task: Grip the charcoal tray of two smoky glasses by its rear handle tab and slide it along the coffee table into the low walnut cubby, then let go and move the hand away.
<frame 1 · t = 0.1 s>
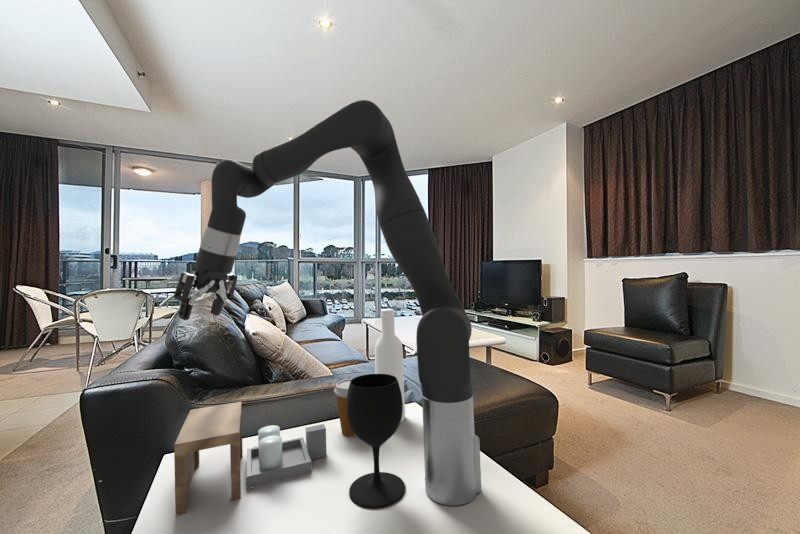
hand: (200, 316, 80), 31 cm above the table, tool tilted 20°, fingers open, 8 cm apart
tray: (278, 466, 73), on the table
bottle: (391, 420, 95), on the table
counter: (213, 480, 68), on the table
wine glass: (377, 491, 63), on the table
disposable coffee cup: (354, 431, 88), on the table
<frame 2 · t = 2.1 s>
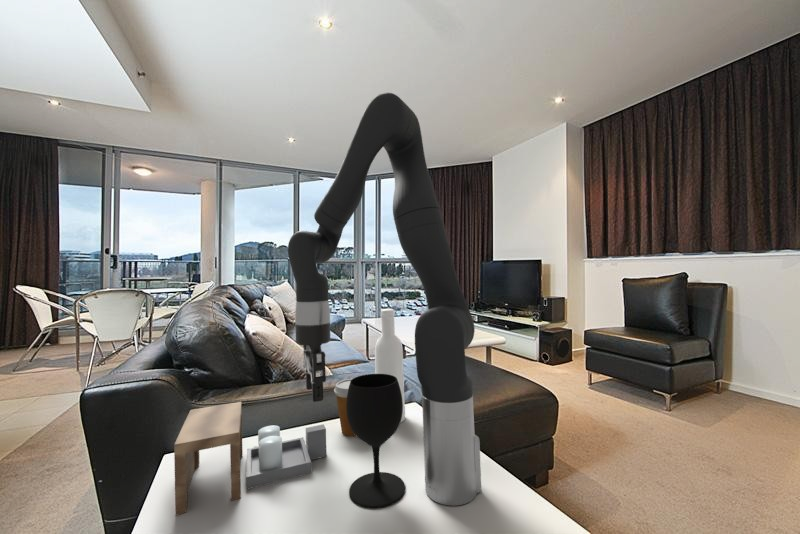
hand: (314, 394, 77), 13 cm above the table, tool pointing down, fingers open, 8 cm apart
nothing on the table moved.
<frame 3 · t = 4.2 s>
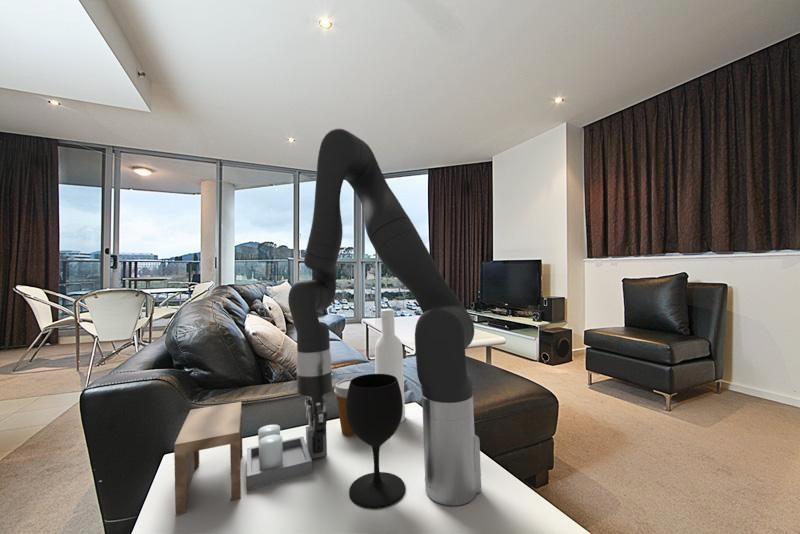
hand: (316, 448, 76), 2 cm above the table, tool pointing down, fingers closed on tray, 2 cm apart
tray: (278, 466, 73), on the table, touching gripper
everything else where it was.
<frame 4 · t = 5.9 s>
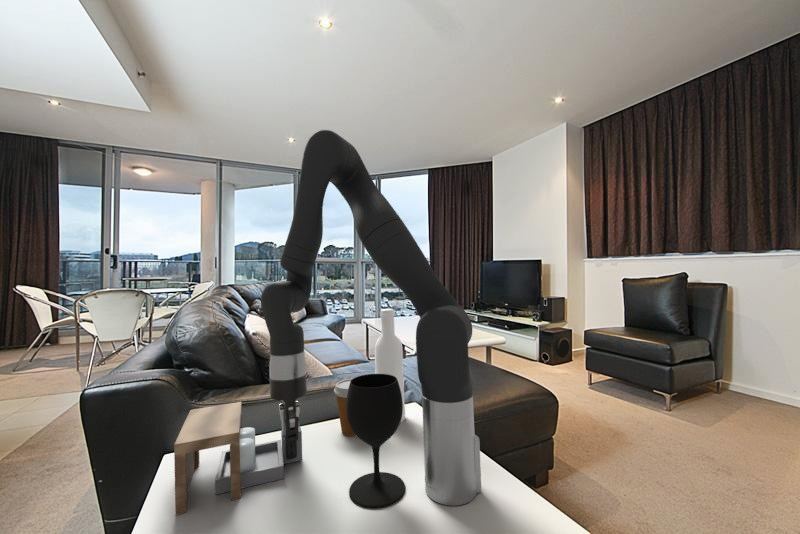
hand: (290, 454, 74), 2 cm above the table, tool pointing down, fingers closed on tray, 2 cm apart
tray: (251, 470, 71), on the table, touching gripper
everything else where it was.
when the fingers open (2 cm above the table, at t = 7.6 s): tray stays where it is, on the table.
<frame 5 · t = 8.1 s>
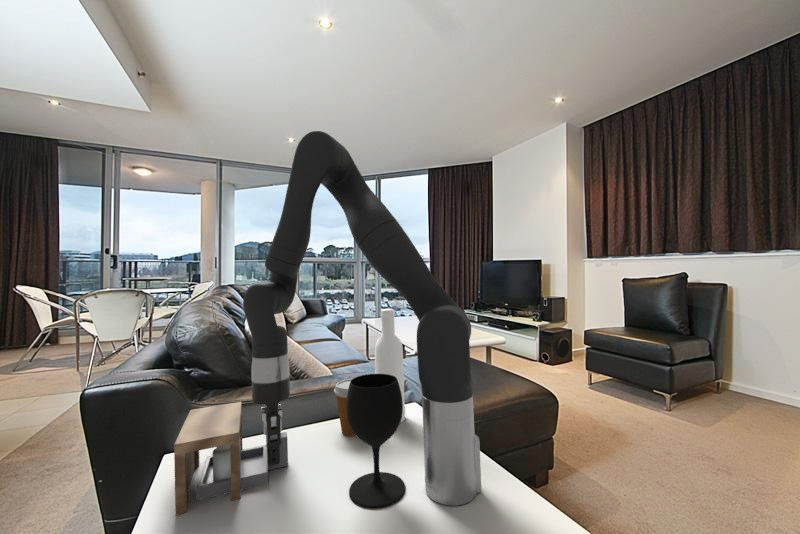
hand: (272, 455, 73), 2 cm above the table, tool pointing down, fingers open, 7 cm apart
tray: (235, 476, 70), on the table
everything else where it was.
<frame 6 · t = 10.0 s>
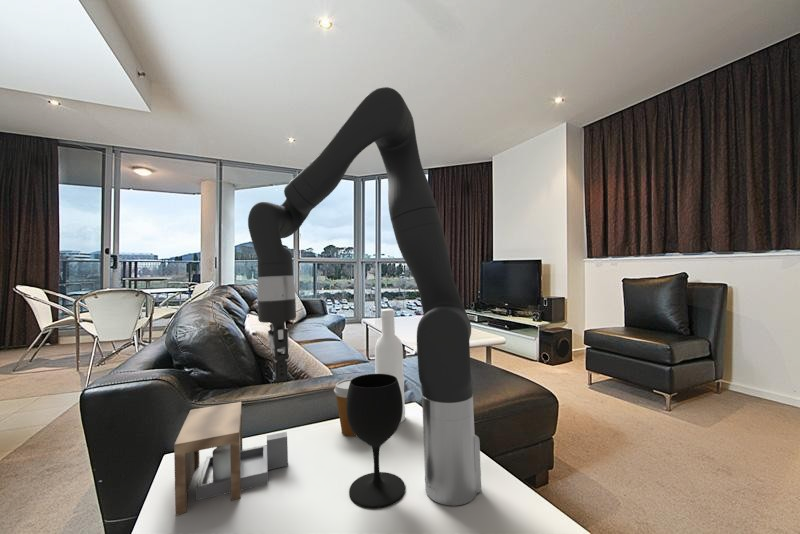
hand: (280, 375, 72), 19 cm above the table, tool pointing down, fingers open, 8 cm apart
nothing on the table moved.
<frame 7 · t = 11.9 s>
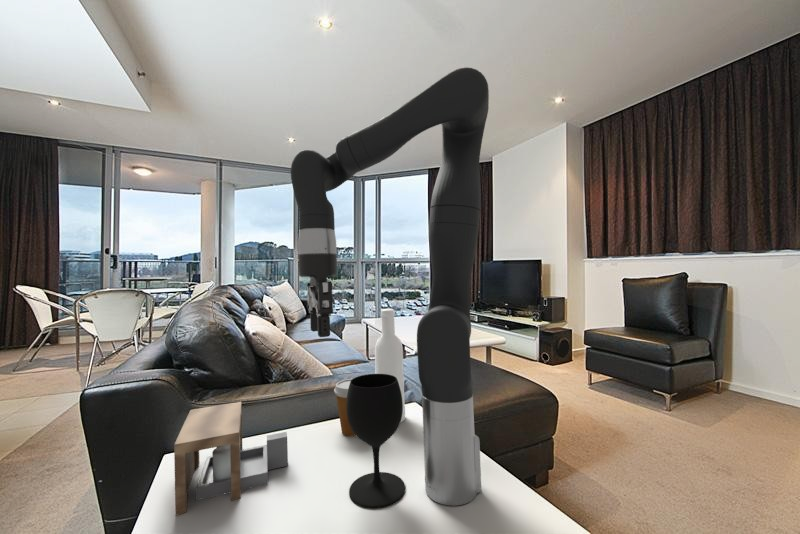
hand: (319, 333, 69), 28 cm above the table, tool pointing down, fingers open, 8 cm apart
nothing on the table moved.
at the end: tray 2.4 cm from the target spot, on the table; tray tilted 0°; the gripper is holding nothing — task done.
